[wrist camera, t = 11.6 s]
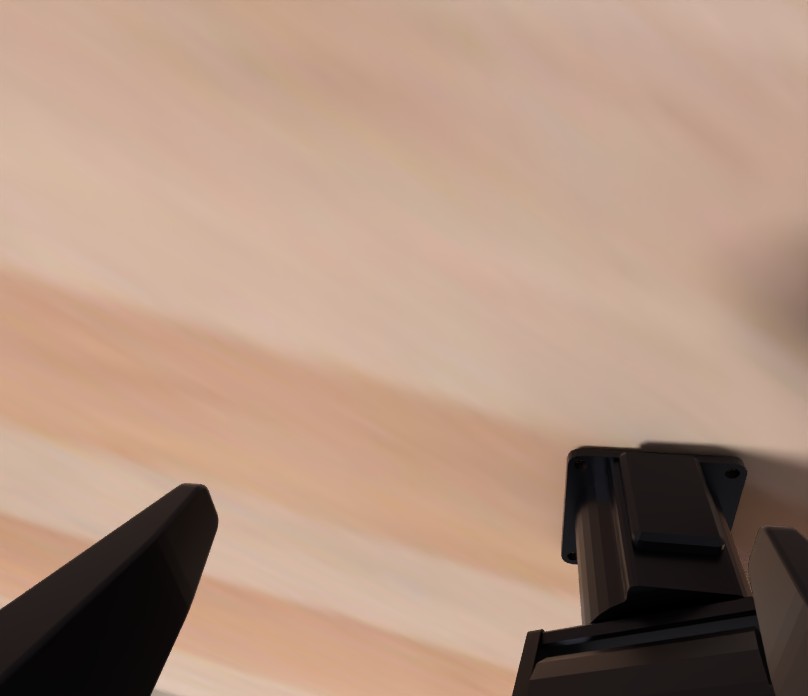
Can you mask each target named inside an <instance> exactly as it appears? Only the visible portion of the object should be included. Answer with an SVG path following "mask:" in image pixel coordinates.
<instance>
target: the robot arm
mask: <svg viewBox="0 0 808 696" xmlns="http://www.w3.org/2000/svg"><path fill="white" fill-rule="evenodd" d="M579 460H582V461H585V462H583V463H578V462H576V461H579ZM729 469H735V470H733V471H727V470H729ZM746 476H747V470H746V467H745V465H744V463H743V461H742V460H741V459H739V458H737V457H732V456H713V455H693V454H673V453H654V452H634V451H614V450H595V449H575V450H573V451H571V452H570V453H569V454H568V457H567V468H566V483H565V498H564V512H563V527H562V542H561V556H562V559H563V560H564V561H565V562H567V563H570V564H578V575H579V588H580V602H581V616H582V625H581V626H575V627H569V628H563V629H557V630H552V631H546V632H545V631H544V630H543V629H541V630H535V631H530V632H528V633H527V636H526V640H525V644H524V648H523V653H522V657H521V661H520V665H519V669H518V673H517V677H516V682H515V686H514V690H513V694H512V696H808V540H807V539H806V538H805V537H804V536H803V535H802V534H801V533H800V532H798V531H797V530H795V529H794V528H791V527H785V526H772V525H765V526H762V527H761V528H760V529H759V531H758V534H757V537H756V540H755V543H754V546H753V550H752V553H751V556H750V559H749V564H748V573H749V579H750V584H751V589H752V592H751V590H750V587H749V584H748V581H747V578H746V575H745V572H744V570H743V567H742V564H741V561H740V558H739V555H738V552H737V550H736V547H735V544H734V541H733V538H732V535H731V528H732V525H733V521H734V518H735V514H736V511H737V507H738V504H739V500H740V497H741V494H742V490H743V487H744V483H745V480H746ZM217 528H218V515H217V512H216V509H215V506H214V504H213V501H212V498H211V496H210V493H209V490H208V488H207V487H206V486H205V485H202V484H191V483H184V484H181V485H179V486H178V487H176V488H175V489H173V490H172V491H170V492H169V493H167V494H166V495H165V496H163V497H162V498H160V499H159V500H157V501H156V502H154V503H153V504H152V505H150V506H149V507H147V508H146V509H144V510H143V511H141V512H140V513H139V514H137V515H136V516H134V517H133V518H131V519H130V520H129V521H127V522H126V523H124V524H123V525H121V526H120V527H118V528H117V529H116V530H114V531H113V532H111V533H110V534H108V535H107V536H105V537H104V538H103V539H101V540H100V541H98V542H97V543H95V544H94V545H93V546H91V547H90V548H88V549H87V550H85V551H84V552H82V553H81V554H80V555H78V556H77V557H75V558H74V559H72V560H71V561H69V562H68V563H67V564H65V565H64V566H62V567H61V568H59V569H58V570H56V571H55V572H54V573H52V574H51V575H49V576H48V577H46V578H45V579H44V580H42V581H41V582H39V583H38V584H36V585H35V586H33V587H32V588H31V589H29V590H28V591H26V592H25V593H23V594H22V595H20V596H19V597H18V598H16V599H15V600H13V601H12V602H10V603H9V604H7V605H6V606H5V607H3V608H2V609H0V696H151V693H152V691H153V689H154V687H155V685H156V683H157V680H158V678H159V676H160V674H161V672H162V669H163V667H164V665H165V663H166V661H167V658H168V656H169V654H170V652H171V650H172V647H173V645H174V643H175V641H176V639H177V637H178V634H179V632H180V630H181V628H182V626H183V623H184V621H185V619H186V616H187V614H188V612H189V610H190V607H191V604H192V602H193V599H194V596H195V593H196V590H197V587H198V584H199V581H200V579H201V576H202V573H203V570H204V567H205V564H206V561H207V558H208V555H209V552H210V549H211V546H212V543H213V540H214V537H215V535H216V532H217ZM752 594H753V595H752Z"/></svg>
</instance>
